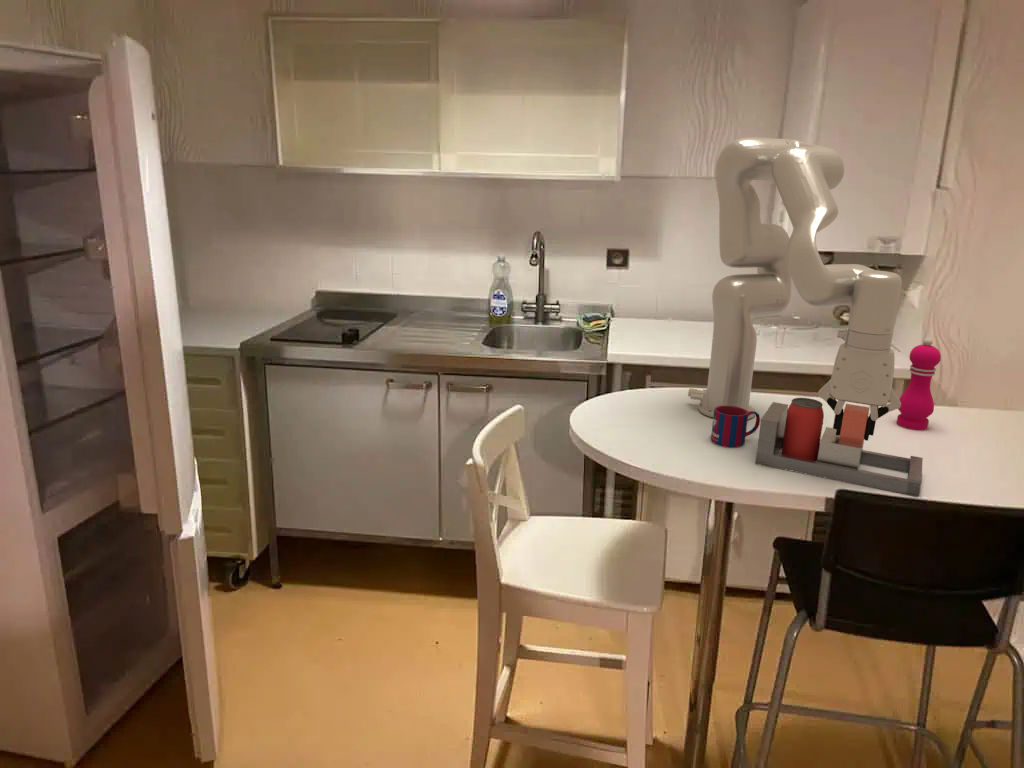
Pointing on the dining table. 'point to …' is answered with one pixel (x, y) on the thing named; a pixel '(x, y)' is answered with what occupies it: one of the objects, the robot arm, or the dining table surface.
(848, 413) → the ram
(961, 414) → the dining table surface
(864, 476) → the press frame
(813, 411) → the beer can
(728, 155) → the robot arm
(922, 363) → the pepper mill
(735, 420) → the mug
